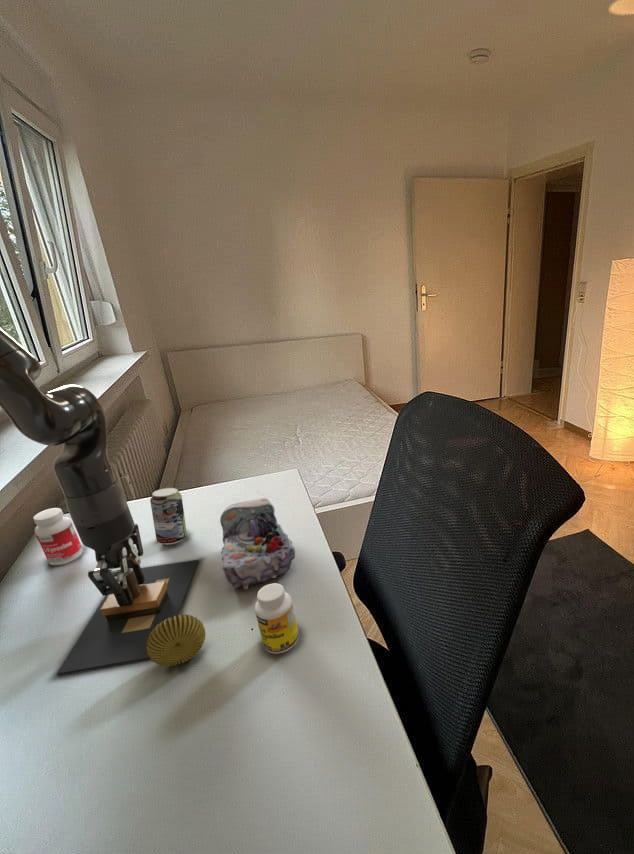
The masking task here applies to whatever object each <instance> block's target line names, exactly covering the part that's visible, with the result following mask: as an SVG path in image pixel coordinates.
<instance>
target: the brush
mask: <svg viewBox="0 0 634 854" xmlns="http://www.w3.org/2000/svg"><path fill="white" fill-rule="evenodd" d="M118 579H119V577H118ZM126 580H127V585H128V586H129V588H130V591H131V593H132V596H133V599H134V602H133V604H132V605H129V606H122V607H121V606H119V605H118V603H117V600H116V598H115V596H114V594H110V595H109V596H108V598H107V599H106V601H105V603H104V604H103V606H102V607H101V609H100V610H101V613H102V615H103V616H106V619H107V621H114V620H120V619H126V618H132V617H138V616H144V615H150V614H156V613H160V612H161V610H162V608H163V605H164V603H165V601H166V599H167V596H168V593H167V585H166V582H165V581H163V582H157V583H151V584H144V585H139V584H138V581H137V579H136V576H135V573H134V571H133V569H132V568H128V572H127V573H126ZM119 582H120V580H119Z"/></svg>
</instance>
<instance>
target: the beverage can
mask: <svg viewBox="0 0 634 854" xmlns="http://www.w3.org/2000/svg"><path fill="white" fill-rule="evenodd" d="M149 502H150V508H151V514H152V522H153V526H154V527H153V528H154V534H155V539H156V542H157V543H159V544H162V545H167V546H168V545H169V546H170V545H175V544H178V543H180V542H181V541H183V540H184V539H185V538H186V537H187V535H188V532H187V525H186V524H187V523H186V518H185V517H186V516H185V510H184V509H185V508H184V504H183V496H182V494H181V492H179V490H178V488H176V487H164V488H160V489H159V488H158V489H155V490H154V491H153V492H152V493H151V497H150V499H149Z"/></svg>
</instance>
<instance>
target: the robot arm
mask: <svg viewBox="0 0 634 854" xmlns="http://www.w3.org/2000/svg"><path fill="white" fill-rule="evenodd" d="M41 373H42V365H41V363H40V362H39V360H37V358H35V356H33V355H32V353H30V352H29V351H27V349H25V347H23V346H22V345H21V344H20V343H19V342H18V341H16V340H15V339H14V338H13V337H12V336H10V335H9V334H8V333H7V332H6V331H4V330H3V329H2V328H1V327H0V408H1V410H2V411H3V412H4V414H5V415H6V416H7V418H8V420H10V422H11V424H12V425H13V426H14V427H15V428H16V429H17V430H18V431H19V432H20V433H21V434H22V435H23V436H24V437H25V438H27V439H30V440H31V441H33V442H35V443H37V444H41V445H44V446H50V447H52V446H53V447H54V446H59V445H63V447H62V450H61V452H60V453H59V454H58V455H57V456H56V457H55V459H54V460H53V463H52V467H53V468H52V469H53V472H54V476H55V477H56V480H57V483H58V485H59V487H60V490H61V492H62V494H63V497H64V501H65V506H66V508H67V511H68V514H69V516H70V519H71V522H72V524H73V526H74V529H75V531H76V533H77V536H78V538H79V540H80V543H81V545H83V546H84V547H86V548H88V549H90V550H93V552H94V554H95V561H96V563H97V564H96V566H95V569H90V570H88V572H87V576H88V578H89V580H90V581H91V583H92V584H93V585H94V587H96V589H97V590H98V591H99V592H100V594H101V595H102V597H105V596H106V595H110V594H114V596H115V598H116V600H117V603H118V605H119V606H121V607H122V606H129V605H132V604H133V602H134V599H133V596H132V593H131V591H130V588H129V586H128V585H127V580H126V573H127V572H128V568H132V569H133V571H134V573H135V576H136V579H137V581H138V584H139V585H140V584H143V583H144V581H145V578H144V575H143V573H142V570H141V568H142V567H141V565H142V559H141V558H140V557H142V556H144V548H143V547H144V546H143V543H142V538H141V533H140V528H139V525H138V524H137V523H135V521H134V519H133V516H132V513H131V510H130V508H129V505H128V502H127V499H126V496H125V494H124V491H123V489H122V487H121V486H120V484H119V482H118V479H117V477H116V474H115V471H114V469H113V466H112V463H111V461H110V459H109V455H108V434H107V432H108V431H107V421H106V416H105V411H104V408H103V406H102V403H101V402H100V400H99V399H98V398H97V396H95V394H93V392H91V390H89V389H87V388H86V387H84V386H81V385H77V384H66V385H63V386H60V387H57V388H55V389H53V390H50V391H47V392H44V391H43V390H42V389H41V388H40V387H39V386H38V384H37V383H36V382H35V381H36V380H37V379H38V378H39V376H40V375H41ZM113 569H114V570H113ZM117 577H119V580H120V582H118V581H117V580H116V579H117Z"/></svg>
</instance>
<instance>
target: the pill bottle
mask: <svg viewBox="0 0 634 854" xmlns="http://www.w3.org/2000/svg"><path fill="white" fill-rule="evenodd" d="M32 518H33V522H34V523H35V525H36V526H35V528H34V534H35V536H36V538H37V541H38V543H39V545H40V547H41V550H42V551H43V554H44V555H45V558H46V560H47V562H48V564H49V565H51V566H61V565H65V564H68V563H71V562H73V561H75V560H76V559H78V558H79V557H81V555H82V554H83V553H84V552H83V551H84V549H83V546H82V543H81V540H80V538H79V535H78V533H77V531H76V528H75V526H74V524H73V521H72V519H71V518H70V517H68V516H65V515H64V512H63V511H62V509H61V508H59V507H52V508H51V507H50V508H47V509H44V510H42V511H39V512H38V513H36V514H35V515H34V516H33V517H32Z"/></svg>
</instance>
